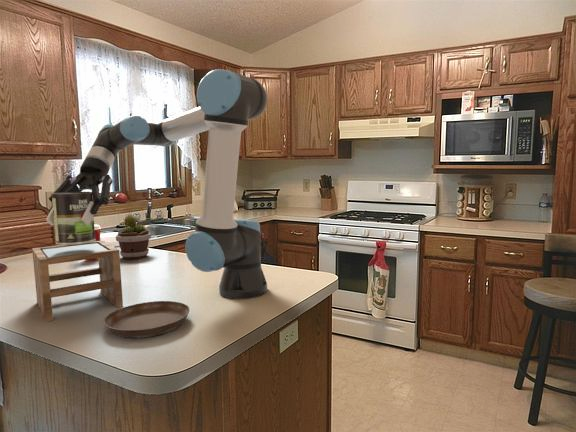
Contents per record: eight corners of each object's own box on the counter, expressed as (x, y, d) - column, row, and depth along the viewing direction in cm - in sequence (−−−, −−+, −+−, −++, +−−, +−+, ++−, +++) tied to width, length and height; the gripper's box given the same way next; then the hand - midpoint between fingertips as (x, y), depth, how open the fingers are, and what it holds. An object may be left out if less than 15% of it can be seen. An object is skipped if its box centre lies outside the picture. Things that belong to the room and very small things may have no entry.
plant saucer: (86, 332, 103) (85, 319, 102) (153, 307, 120) (152, 295, 120) (142, 350, 92) (141, 336, 91) (206, 319, 109) (206, 307, 109)
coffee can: (103, 240, 120) (100, 191, 118) (68, 247, 112) (64, 194, 110) (82, 237, 126) (78, 191, 124) (47, 243, 117) (43, 193, 115)
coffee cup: (107, 258, 183) (104, 225, 181) (89, 262, 176) (87, 227, 174) (95, 256, 187) (93, 223, 186) (78, 260, 181) (75, 226, 179)
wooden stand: (122, 305, 121) (119, 249, 119) (45, 321, 109) (39, 260, 107) (106, 290, 136) (103, 240, 134) (37, 302, 125) (32, 248, 123)
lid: (108, 253, 119) (108, 250, 119) (49, 261, 111) (48, 258, 110) (97, 246, 131) (96, 243, 131) (42, 252, 123) (42, 249, 123)
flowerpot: (157, 257, 184) (154, 212, 181) (120, 262, 175) (117, 215, 173) (147, 252, 196) (145, 209, 193) (113, 256, 187) (110, 212, 185)
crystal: (95, 242, 202) (146, 237, 215) (93, 233, 207) (142, 229, 220) (95, 254, 206) (144, 248, 219) (92, 245, 211) (141, 240, 224)
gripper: (136, 172, 129) (111, 230, 116) (70, 173, 133) (38, 230, 119) (126, 155, 124) (98, 214, 110) (57, 156, 127) (22, 214, 114)
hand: (67, 222), depth 115 cm, fingers closed on coffee can, 10 cm apart
